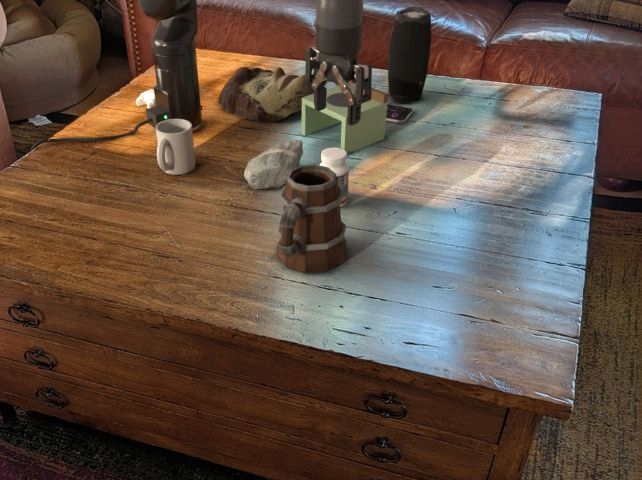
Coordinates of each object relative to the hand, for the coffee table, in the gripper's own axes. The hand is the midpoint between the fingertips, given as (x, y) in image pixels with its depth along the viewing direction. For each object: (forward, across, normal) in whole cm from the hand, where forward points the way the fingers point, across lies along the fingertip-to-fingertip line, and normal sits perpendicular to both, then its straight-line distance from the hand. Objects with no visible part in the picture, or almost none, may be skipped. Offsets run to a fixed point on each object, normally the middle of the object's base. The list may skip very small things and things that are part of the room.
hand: (336, 116), depth 128 cm
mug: (+17, -12, +17) cm, 27 cm away
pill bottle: (+17, 0, 0) cm, 17 cm away
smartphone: (+17, +24, -36) cm, 46 cm away
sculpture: (+17, +45, -20) cm, 52 cm away
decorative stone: (+17, +15, +2) cm, 23 cm away
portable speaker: (+17, +26, -47) cm, 56 cm away
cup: (+17, +31, +16) cm, 39 cm away
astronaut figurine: (+17, +65, -1) cm, 67 cm away
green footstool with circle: (+17, +20, -21) cm, 33 cm away
